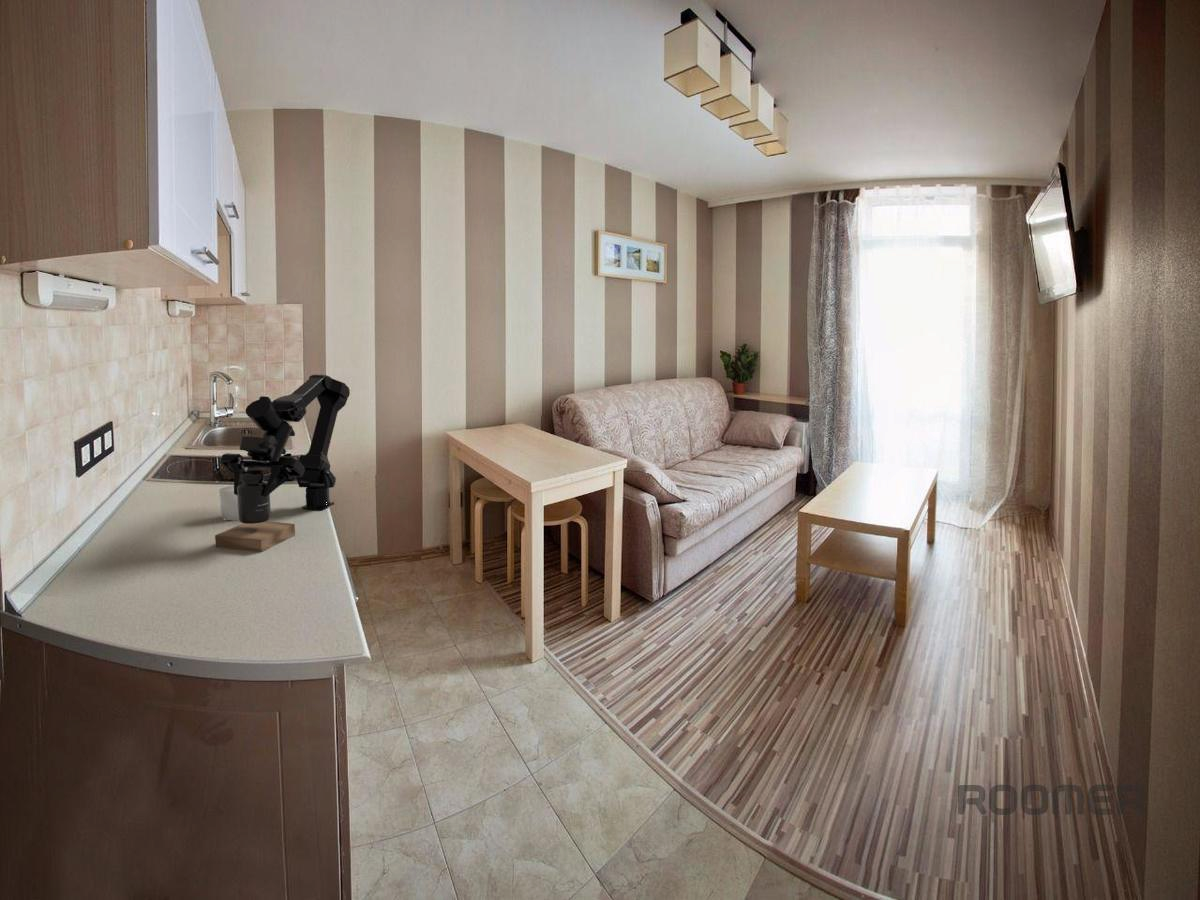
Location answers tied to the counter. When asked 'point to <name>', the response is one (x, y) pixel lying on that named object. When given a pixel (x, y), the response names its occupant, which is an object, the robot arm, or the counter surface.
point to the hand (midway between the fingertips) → (249, 495)
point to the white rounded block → (229, 503)
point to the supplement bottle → (253, 498)
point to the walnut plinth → (255, 536)
